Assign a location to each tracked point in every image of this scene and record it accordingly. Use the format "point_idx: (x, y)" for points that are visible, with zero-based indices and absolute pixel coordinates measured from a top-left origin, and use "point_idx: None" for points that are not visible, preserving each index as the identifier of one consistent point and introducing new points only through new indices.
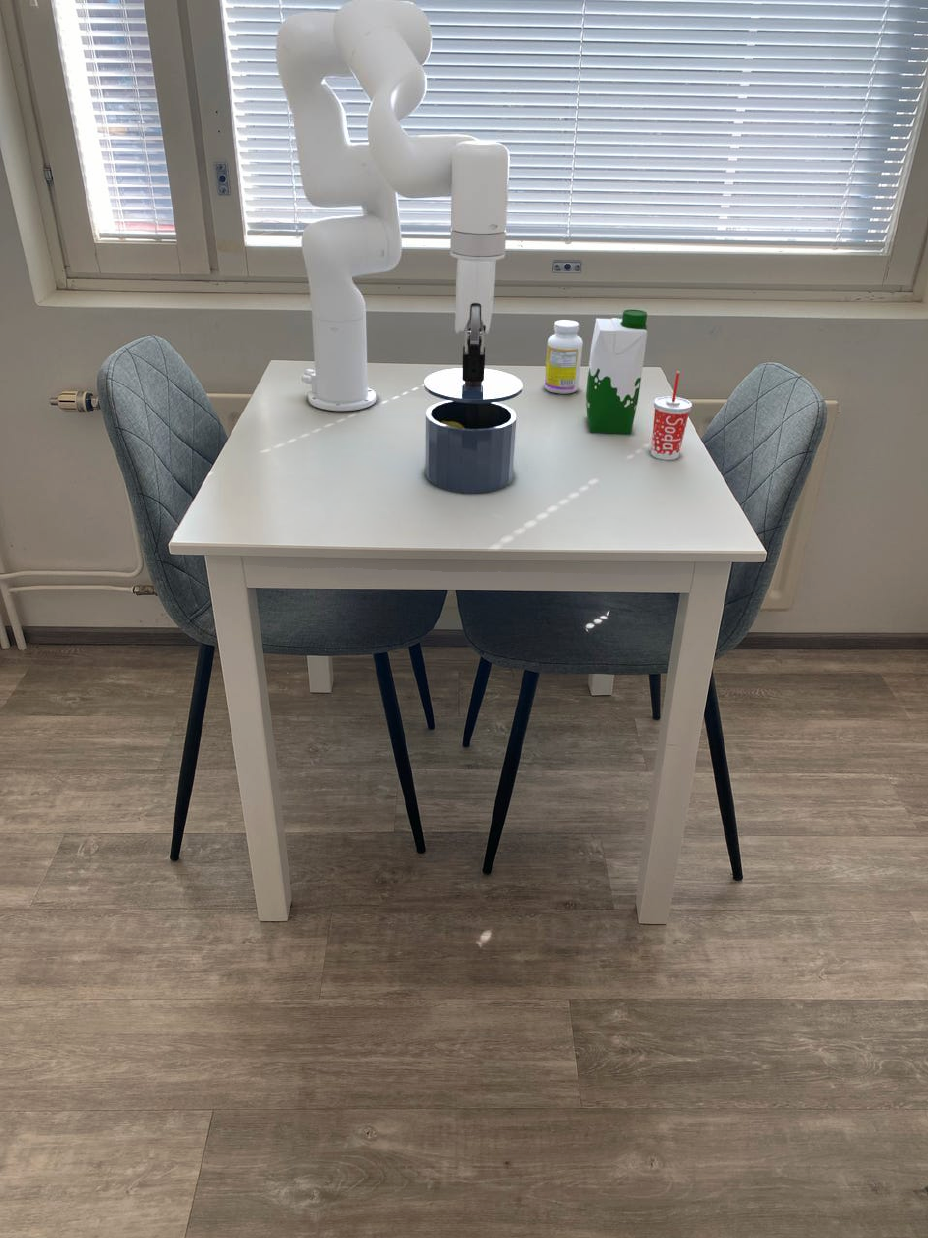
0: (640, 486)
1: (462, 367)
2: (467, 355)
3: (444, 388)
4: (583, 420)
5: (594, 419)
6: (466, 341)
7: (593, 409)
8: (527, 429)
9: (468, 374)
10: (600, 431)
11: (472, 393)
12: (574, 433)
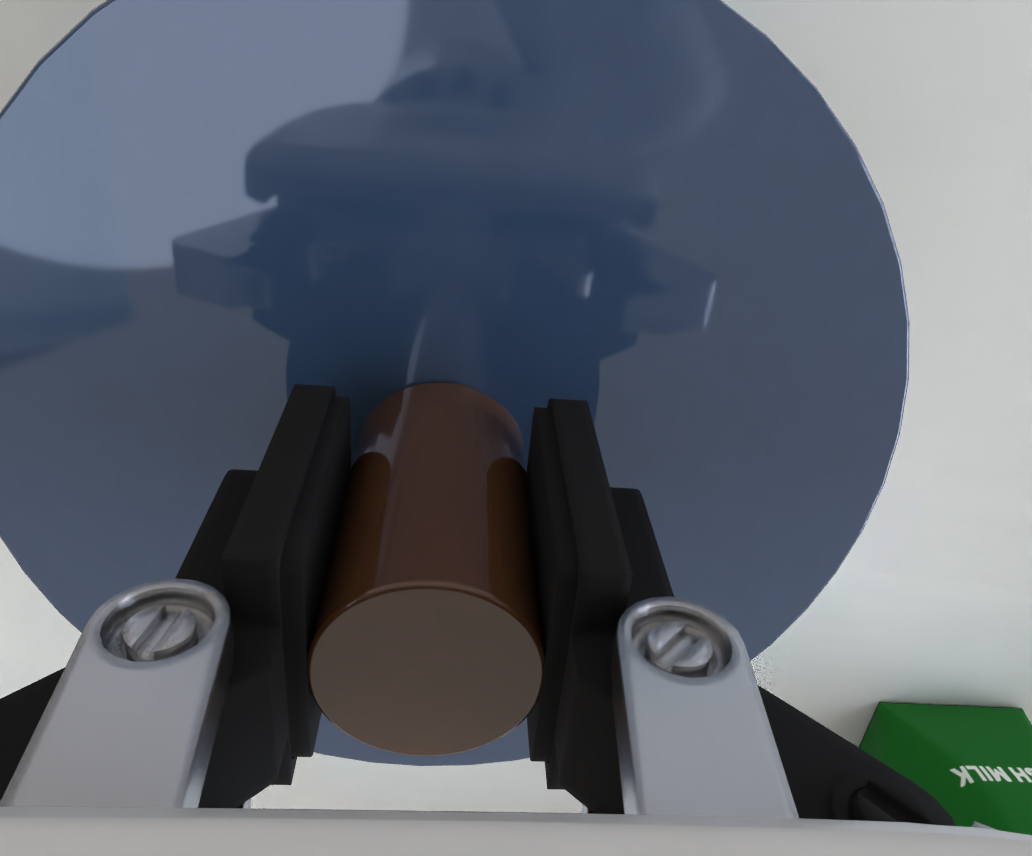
0: (393, 769)
1: (267, 450)
2: (228, 599)
3: (216, 165)
4: (1008, 693)
5: (898, 751)
6: (34, 774)
7: (929, 779)
8: (976, 501)
9: (226, 477)
10: (868, 732)
11: (126, 432)
12: (885, 653)
